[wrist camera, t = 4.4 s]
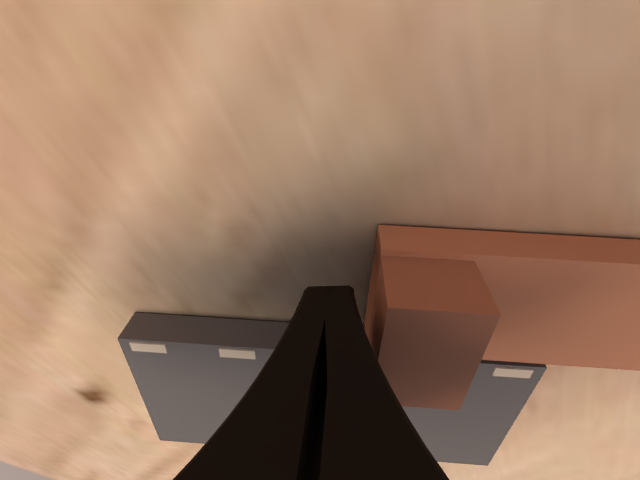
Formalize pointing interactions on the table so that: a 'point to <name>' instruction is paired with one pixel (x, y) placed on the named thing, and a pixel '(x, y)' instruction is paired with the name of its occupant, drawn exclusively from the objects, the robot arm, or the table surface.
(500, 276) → the stub
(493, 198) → the table surface
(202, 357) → the board
